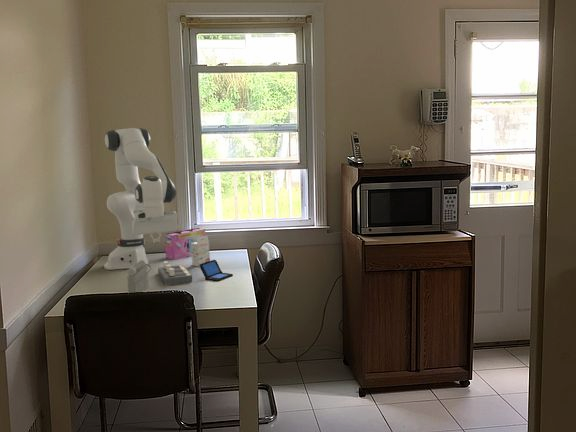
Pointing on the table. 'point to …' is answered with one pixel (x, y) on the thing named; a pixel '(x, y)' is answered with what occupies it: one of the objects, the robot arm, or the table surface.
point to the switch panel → (179, 277)
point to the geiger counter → (138, 277)
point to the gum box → (181, 242)
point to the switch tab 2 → (171, 272)
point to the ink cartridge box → (200, 251)
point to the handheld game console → (213, 271)
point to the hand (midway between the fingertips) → (156, 242)
